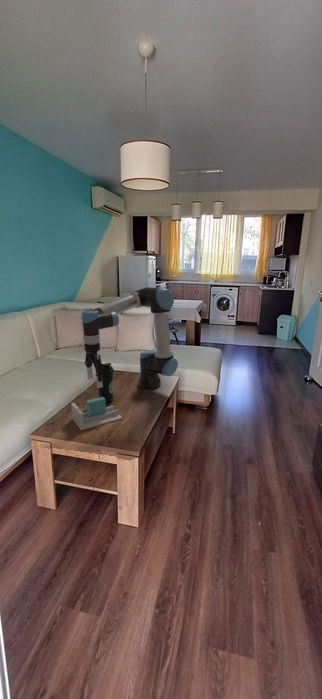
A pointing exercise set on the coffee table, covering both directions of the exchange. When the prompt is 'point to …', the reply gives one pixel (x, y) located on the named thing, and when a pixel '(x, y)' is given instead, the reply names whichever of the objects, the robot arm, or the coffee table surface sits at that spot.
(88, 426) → the track
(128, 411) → the coffee table surface
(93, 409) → the teal sliding block
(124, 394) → the coffee table surface
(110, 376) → the water bottle
